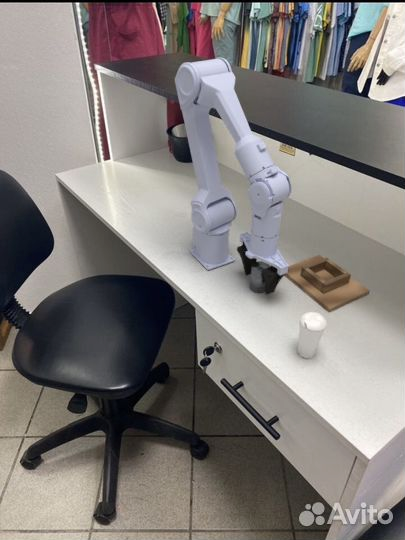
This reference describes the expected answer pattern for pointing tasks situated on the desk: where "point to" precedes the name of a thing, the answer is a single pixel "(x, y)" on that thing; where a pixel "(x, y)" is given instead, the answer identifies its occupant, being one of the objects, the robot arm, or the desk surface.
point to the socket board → (326, 282)
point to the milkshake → (310, 333)
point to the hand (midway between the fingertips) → (259, 282)
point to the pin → (258, 277)
